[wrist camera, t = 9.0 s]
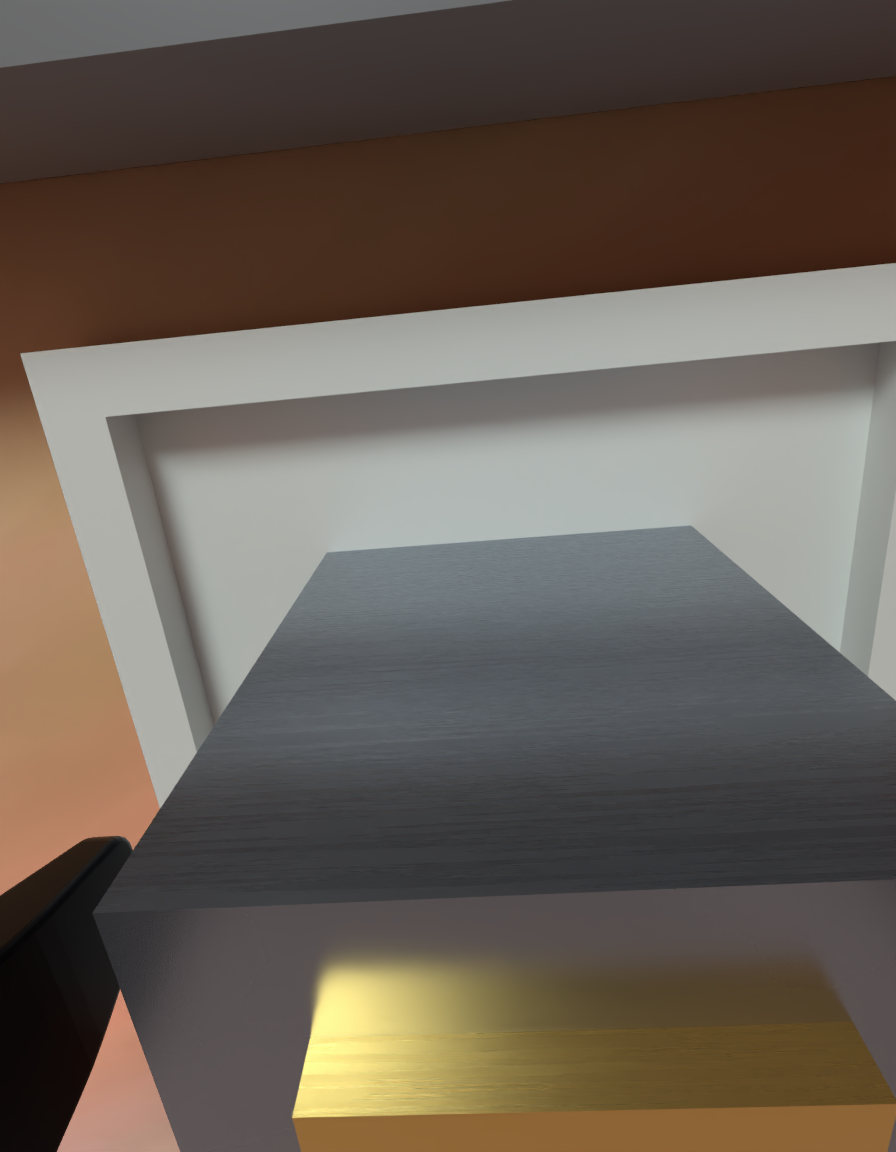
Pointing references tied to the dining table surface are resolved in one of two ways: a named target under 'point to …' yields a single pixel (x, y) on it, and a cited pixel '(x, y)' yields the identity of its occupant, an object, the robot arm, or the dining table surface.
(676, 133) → the dining table surface
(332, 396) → the tray
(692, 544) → the module
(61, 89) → the case
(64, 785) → the dining table surface
